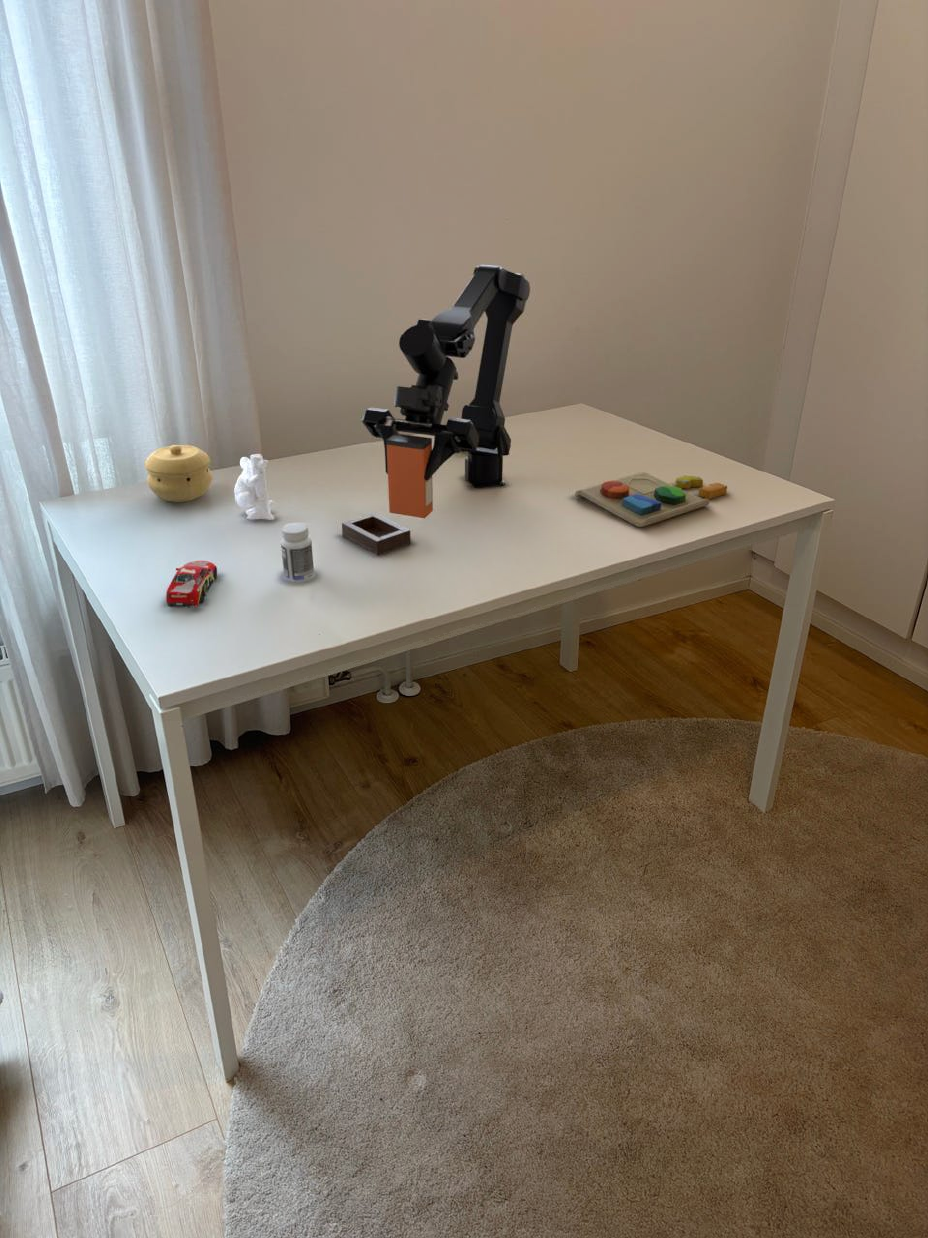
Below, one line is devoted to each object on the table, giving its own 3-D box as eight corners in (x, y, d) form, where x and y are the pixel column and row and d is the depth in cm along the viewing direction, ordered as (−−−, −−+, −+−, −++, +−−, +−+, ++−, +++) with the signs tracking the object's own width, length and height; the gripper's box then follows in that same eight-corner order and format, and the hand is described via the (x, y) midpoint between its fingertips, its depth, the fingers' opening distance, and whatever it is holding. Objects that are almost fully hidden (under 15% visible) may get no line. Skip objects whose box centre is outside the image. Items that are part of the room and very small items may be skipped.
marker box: (397, 505, 160) (395, 433, 154) (433, 510, 158) (432, 438, 152) (389, 512, 157) (386, 439, 151) (425, 518, 155) (423, 444, 149)
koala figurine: (286, 519, 170) (280, 454, 164) (251, 528, 167) (244, 462, 161) (265, 504, 176) (259, 441, 170) (231, 512, 173) (223, 449, 167)
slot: (375, 525, 168) (374, 512, 167) (410, 543, 162) (410, 530, 160) (342, 536, 164) (341, 522, 163) (377, 555, 158) (376, 541, 156)
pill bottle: (319, 572, 152) (315, 523, 148) (305, 585, 148) (301, 535, 144) (292, 567, 153) (288, 519, 149) (278, 580, 149) (273, 531, 145)
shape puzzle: (645, 531, 166) (647, 513, 165) (571, 498, 180) (572, 481, 178) (740, 498, 180) (742, 481, 178) (664, 470, 193) (666, 454, 191)
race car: (188, 572, 152) (184, 549, 150) (222, 572, 152) (219, 549, 150) (161, 611, 140) (157, 587, 139) (197, 612, 140) (194, 588, 138)
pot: (202, 480, 187) (195, 431, 182) (224, 500, 178) (217, 448, 173) (141, 493, 181) (133, 442, 176) (161, 513, 172) (153, 460, 167)
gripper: (363, 357, 152) (335, 446, 149) (473, 369, 146) (446, 461, 143) (386, 393, 163) (360, 476, 159) (490, 405, 157) (465, 492, 153)
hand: (406, 476), depth 153 cm, fingers closed on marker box, 6 cm apart
